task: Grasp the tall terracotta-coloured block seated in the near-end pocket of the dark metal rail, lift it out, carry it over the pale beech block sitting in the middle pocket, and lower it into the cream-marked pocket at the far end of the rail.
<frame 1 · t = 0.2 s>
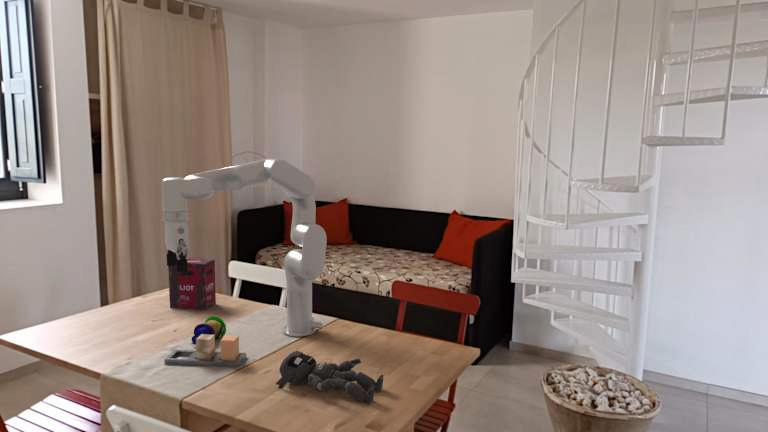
hand: (176, 268, 179), 31 cm above the table, tool pointing down, fingers open, 9 cm apart
robot: (329, 390, 164), on the table
rail: (206, 363, 179), on the table
terracotta block: (230, 361, 178), point 1 cm above the table, touching rail
box: (193, 306, 238), on the table
toy: (210, 343, 197), on the table
beech block: (206, 360, 179), point 1 cm above the table, touching rail
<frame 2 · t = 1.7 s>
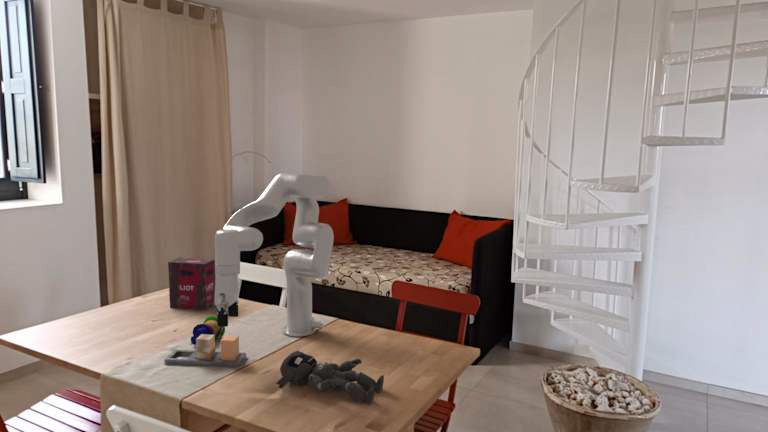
hand: (228, 321, 176), 15 cm above the table, tool pointing down, fingers open, 9 cm apart
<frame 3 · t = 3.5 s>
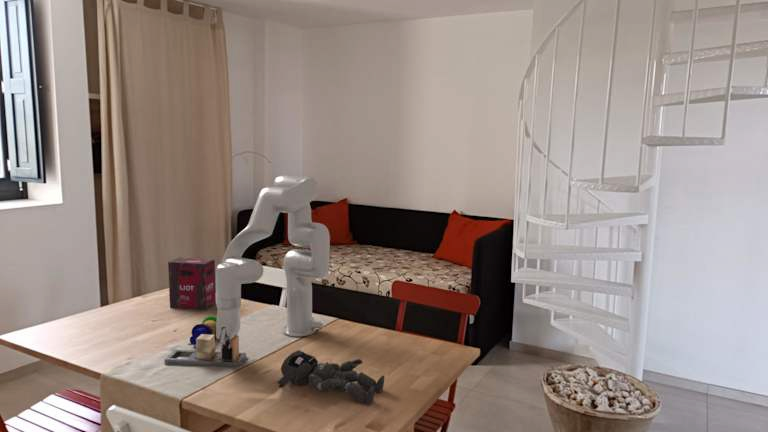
hand: (230, 355, 178), 3 cm above the table, tool pointing down, fingers closed on terracotta block, 4 cm apart
terracotta block: (230, 361, 178), point 1 cm above the table, touching gripper, rail
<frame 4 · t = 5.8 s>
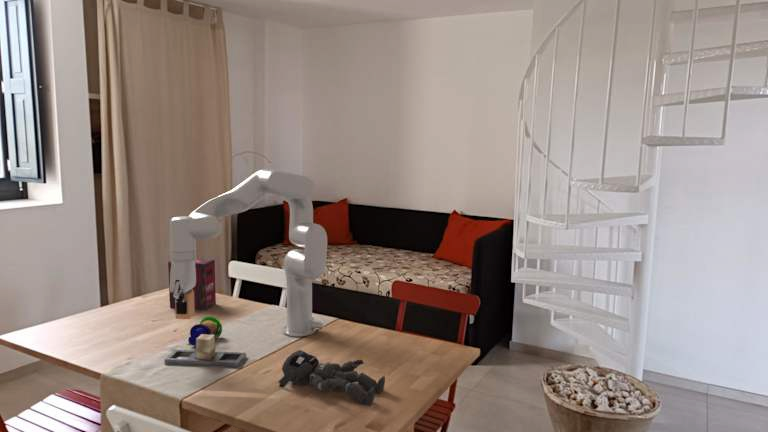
hand: (185, 310, 176), 18 cm above the table, tool pointing down, fingers closed on terracotta block, 4 cm apart
terracotta block: (185, 316, 177), point 16 cm above the table, touching gripper
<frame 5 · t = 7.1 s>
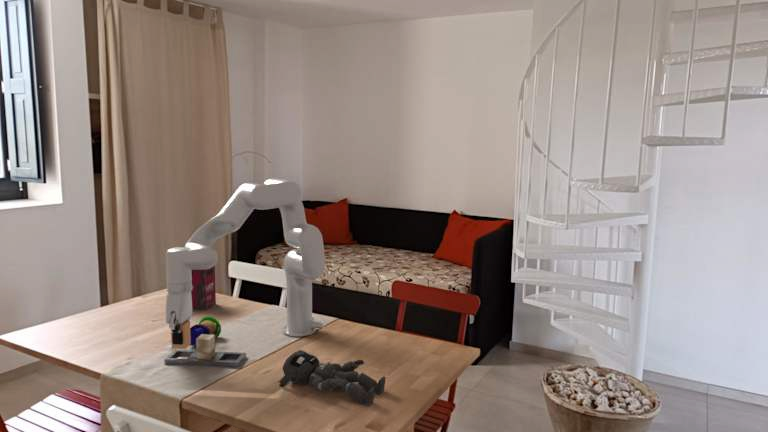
hand: (181, 340, 178), 8 cm above the table, tool pointing down, fingers closed on terracotta block, 4 cm apart
terracotta block: (181, 346, 178), point 6 cm above the table, touching gripper
when the fingers open (4 cm above the table, at t = 8.2 s): terracotta block stays where it is, resting on rail.
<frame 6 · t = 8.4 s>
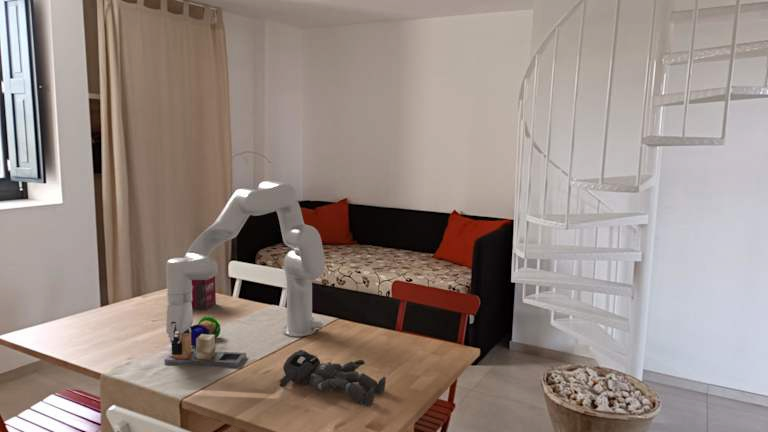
hand: (181, 349, 179), 4 cm above the table, tool pointing down, fingers open, 6 cm apart
terracotta block: (182, 358, 179), point 1 cm above the table, touching rail
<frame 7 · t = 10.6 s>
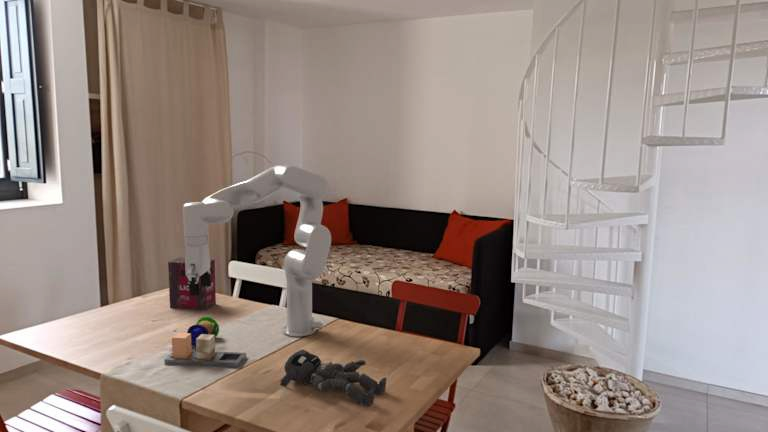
hand: (200, 290, 182), 23 cm above the table, tool pointing down, fingers open, 9 cm apart
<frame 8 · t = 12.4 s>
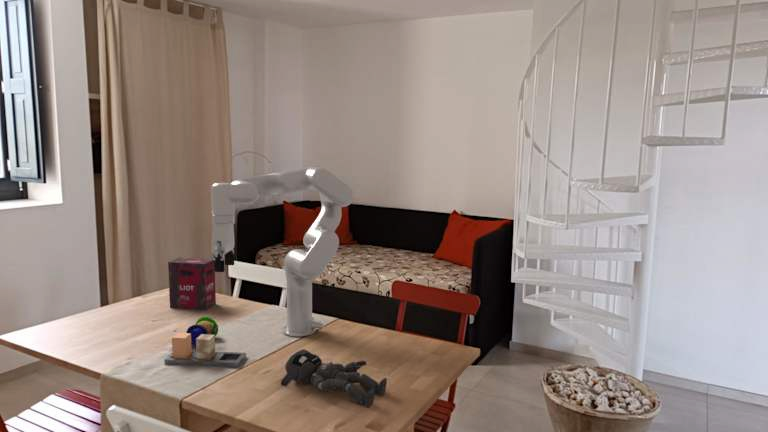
hand: (224, 268, 189), 28 cm above the table, tool pointing down, fingers open, 9 cm apart
at the end: terracotta block 0.1 cm from the target spot on the rail, point 1.3 cm above the rail's base; terracotta block tilted 0°; beech block moved 0.1 cm from its start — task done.
